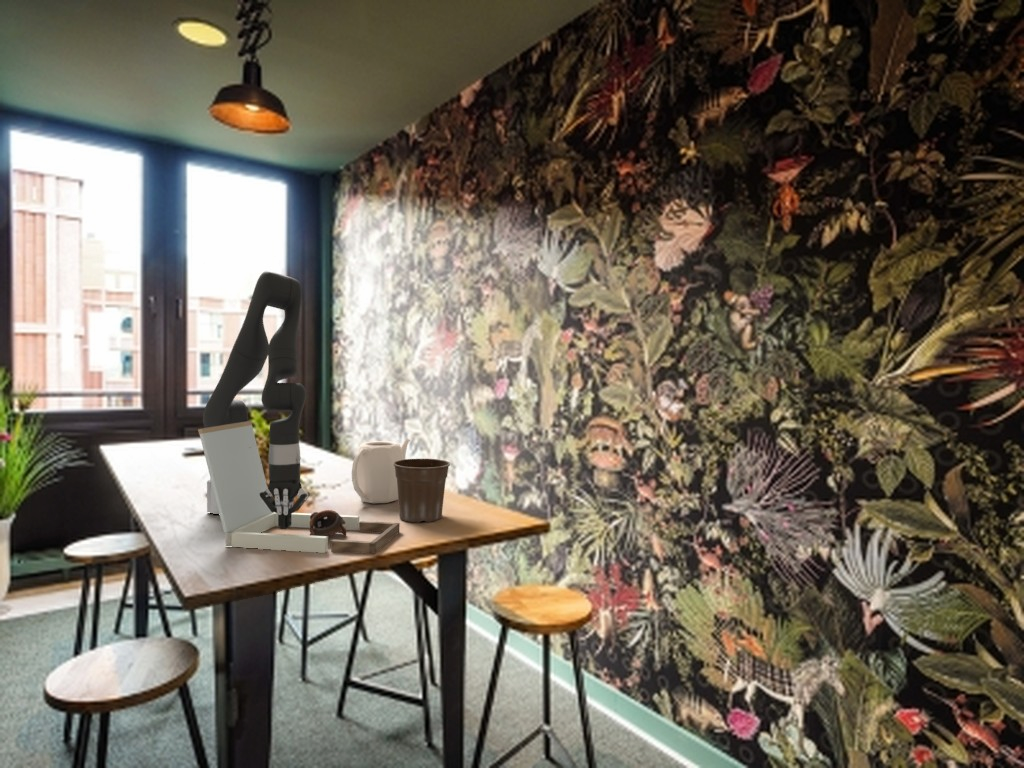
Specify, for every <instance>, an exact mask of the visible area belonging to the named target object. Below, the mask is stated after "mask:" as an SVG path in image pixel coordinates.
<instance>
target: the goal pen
mask: <svg viewBox="0 0 1024 768" xmlns="http://www.w3.org/2000/svg"><path fill="white" fill-rule="evenodd" d="M358 531H359V532H360V533H361V532H363V533H376V532H383V533H379V535H377V536H376V537H375V538H373V539H372V540H371V541H364V540H347V539H346V540H345V539H332V540H331V541H330V544H331V545H330V547H331V548H330V550H331V552H333V553H334V552H335V553H351V554H366V555H367V554H369V555H375V554H376V553H377V552H379V551H380V550H379V549H380V548H381V547H382V548H384V547H385V546H386V545H387V544H388V543H387V542H388V541H389V540H390V541H391V540H392V539H394V536H395V535H396V534H397V533H398V534H399V533H400V522H386V521H385V522H384V521H366V520H365V521H364V520H359V529H358ZM398 534H397V535H398ZM397 535H396V536H397ZM396 536H395V537H396ZM390 541H389V542H390ZM382 548H381V549H382Z"/></svg>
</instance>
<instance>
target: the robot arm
mask: <svg viewBox="0 0 1024 768" xmlns="http://www.w3.org/2000/svg"><path fill="white" fill-rule="evenodd" d="M267 307H270V308H275V309H279V310H282V311H284V320H283V322H282V323H281V325H280V326H279V328H278V329H277V330H276V331H275V333H274V334H273V335H272V337H271V338H270V341H269V338H268V336H267V333H266V330H265V325H264V315H265V311H266V308H267ZM301 307H302V286H301V283H300V281H299V280H298V279H296V278H293V277H292V276H287V275H285V274H280V273H277V272H274V271H270V270H265V271H263V272H262V273H260V276H259V277H258V279H257V280H256V283H255V287H254V290H253V293H252V296H251V299H250V302H249V305H248V308H247V312H246V315H245V318H244V319H243V323H242V325H241V328H240V331H239V332H238V335H237V337H236V339H235V341H234V344H233V346H232V349H231V352H230V354H229V357H228V359H227V362H226V365H225V367H224V369H223V372H222V373H221V376H220V378H219V381H218V383H217V385H216V386H215V388H214V390H213V391H212V394H211V396H210V397H209V399H208V400H207V403H206V405H205V407H204V411H203V414H202V424H203V426H204V428H208V427H215V426H221V425H227V424H234V423H240V422H246V421H249V411H248V408H247V407H248V406H246V404H245V402H244V401H242V400H241V399H235V398H236V396H237V395H238V394H239V393H240V392H241V391H242V390H243V389H244V388H245V387H247V386H248V384H250V382H252V381H253V380H254V379H256V378H257V376H258V375H259V374H260V373H261V371H262V370H263V368H264V365H265V363H266V361H267V360H268V369H267V370H268V371H267V377H266V379H265V380H266V381H265V383H264V386H263V389H262V392H261V404H262V406H263V407H264V408H265V409H266V410H267V411H271V412H272V411H274V412H275V411H276V412H277V411H291V413H290V414H289V415H288V416H287V417H283V418H280V419H276V420H272V421H271V422H270V424H269V446H268V447H269V449H268V481H269V483H268V484H267V487H268V489H266V490H265V491H264V492H261V493H260V497H261V498H262V500H263V501H264V502H265V504H266V505H267V506H268V508H269V509H270V511H271V512H275V513H277V514H278V526H277V527H279V528H280V529H279V530H285V531H286V530H288V529H290V528H291V527H290V526H291V514H292V513H297V512H298V511H299V510H300V509H301V507H302V506H303V505H304V504H305V502H306V501H307V500H308V499H309V497H310V495H311V493H310V492H309V491H305V490H304V489H302V488H303V487H302V486H303V485H302V483H301V459H302V458H301V449H300V448H301V447H300V422H301V419H302V418H301V417H302V414H303V413H302V412H303V409H304V406H305V404H306V399H307V389H306V388H305V386H304V385H303V384H302V383H300V382H280V381H283V380H285V379H290V378H292V377H295V376H296V375H297V373H298V349H297V343H298V342H297V341H298V340H297V339H298V332H299V329H298V328H299V323H300V316H301ZM296 498H297V500H296V501H295V499H296ZM207 512H210V513H213V514H219V510H218V506H217V502H216V498H215V494H214V490H213V486H212V482H211V478H209V480H207V481H206V513H207ZM210 513H209V514H210ZM213 514H212V515H213Z"/></svg>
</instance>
